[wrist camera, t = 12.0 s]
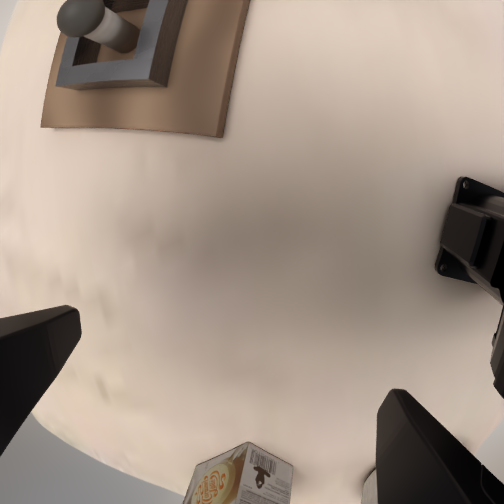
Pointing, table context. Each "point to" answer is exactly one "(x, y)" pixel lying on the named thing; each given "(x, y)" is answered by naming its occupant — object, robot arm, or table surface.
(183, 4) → the metal link
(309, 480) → the table surface
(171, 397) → the table surface
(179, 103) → the square knob plate
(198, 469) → the coffee box
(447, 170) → the table surface
